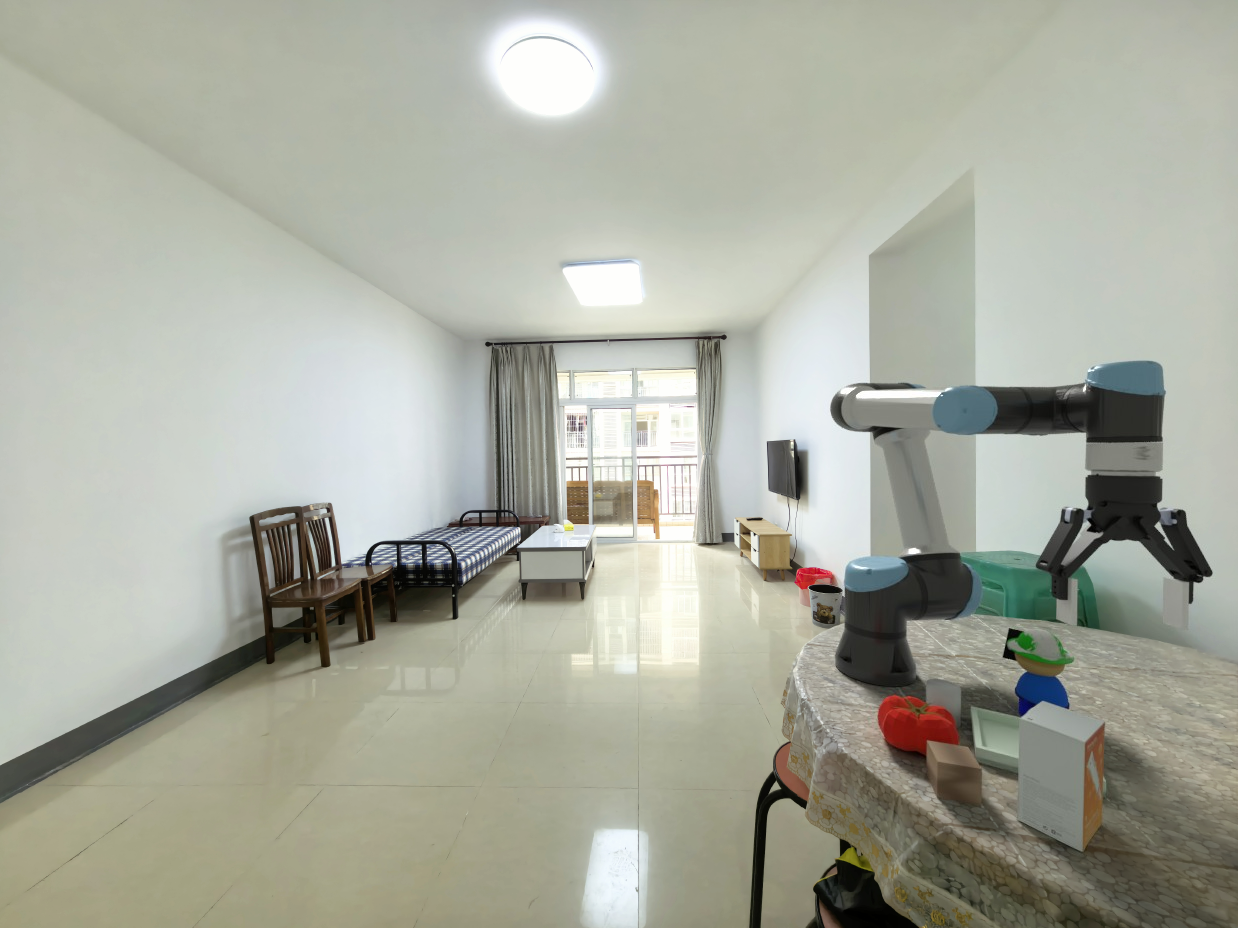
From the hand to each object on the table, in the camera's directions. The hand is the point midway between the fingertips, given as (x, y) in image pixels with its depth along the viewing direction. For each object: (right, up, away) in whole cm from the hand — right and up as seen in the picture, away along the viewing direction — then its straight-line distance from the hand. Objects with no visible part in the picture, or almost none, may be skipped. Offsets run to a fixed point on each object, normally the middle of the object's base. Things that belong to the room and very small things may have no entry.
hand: (1120, 624), depth 69 cm
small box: (-16, -22, -8) cm, 28 cm away
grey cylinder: (-15, -21, +15) cm, 30 cm away
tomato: (-24, -22, +8) cm, 33 cm away
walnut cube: (-25, -22, -2) cm, 33 cm away
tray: (-8, -22, +6) cm, 24 cm away
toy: (+3, -22, +17) cm, 27 cm away
